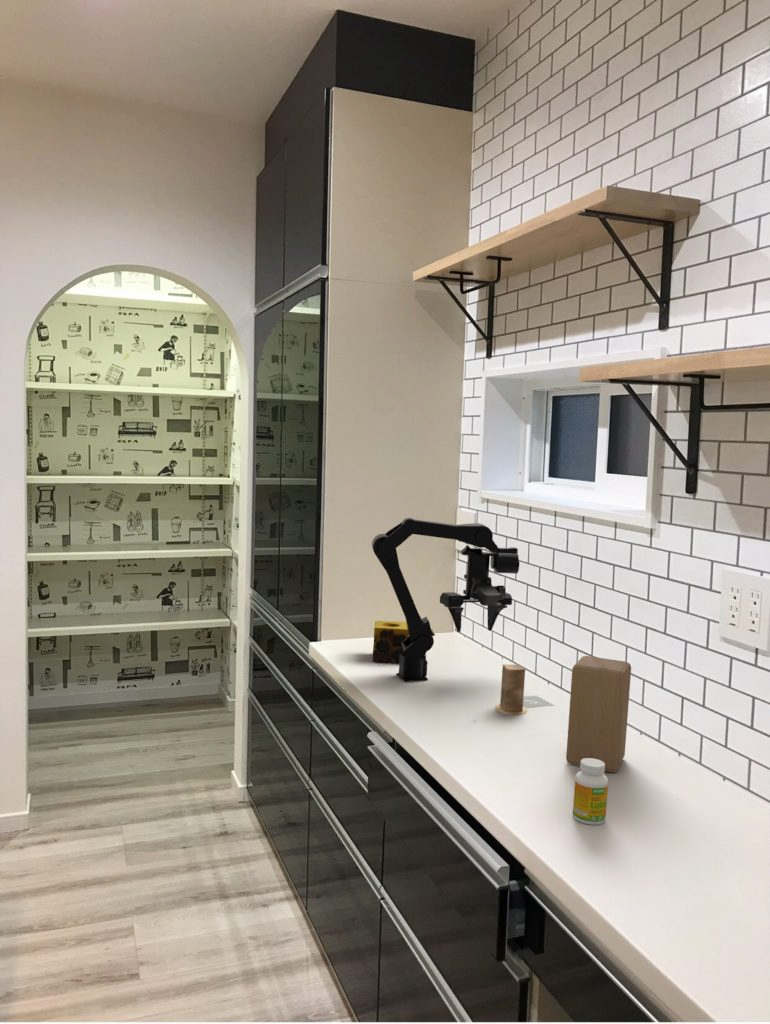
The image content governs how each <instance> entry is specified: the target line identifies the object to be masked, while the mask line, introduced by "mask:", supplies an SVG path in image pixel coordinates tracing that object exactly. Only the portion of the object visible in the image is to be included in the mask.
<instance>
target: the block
mask: <svg viewBox="0 0 770 1024" xmlns="http://www.w3.org/2000/svg"><path fill="white" fill-rule="evenodd" d="M631 673H632V666H631V663H629V662H627V661H625V660H624V661H623V660H617V659H610V658H604V657H597V656H589V655H584V656H581V657H580V659H579V660H578V661H576V663H575V664H574V665H573V667H572V670H571V685H570V696H569V697H570V698H569V712H568V713H569V714H568V723H567V724H568V727H567V738H566V739H567V741H566V753H565V754H566V755H565V758H566V761H567V763H568V764H569V765H572V766H573V765H574V766H577V767H580V763H581V760H582V759H584V758H593V759H598V760H601V761H602V762H604V763H605V772H608V773H612V774H613V773H617V772H618V770H619V768H620V766H621V763H622V762H623V759H624V758H625V755H626V744H627V743H626V741H627V728H628V717H629V715H628V713H629V702H630V691H631V690H630V689H631V675H632V674H631Z"/></svg>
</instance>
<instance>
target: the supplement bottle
mask: <svg viewBox="0 0 770 1024" xmlns="http://www.w3.org/2000/svg"><path fill="white" fill-rule="evenodd" d="M605 772H606V771H605V763H604V762H602V761H601V760H598V759H593V758H584V759H582V760H581V763H580V766H579V771H578V772H577V773H576V774H575V777H574V788H573V790H574V791H573V804H572V817H573V818H574V819H575V821H577V822H579V823H582V824H584V825H590V826H591V825H592V826H599V825H602V824H603V823H604V822H605V821H606V815H607V803H608V789H609V779H608V777H607V776H606V775H605Z"/></svg>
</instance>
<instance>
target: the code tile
mask: <svg viewBox="0 0 770 1024" xmlns="http://www.w3.org/2000/svg"><path fill="white" fill-rule="evenodd" d="M523 707H525V708H526V709H531V708H534V709H535V708H542V707H555V705H554V704H552V703H551V702H549V701H547V700H546V699H543V698H541V697H540V696H539V695H527V696H526V695H524V696H523Z"/></svg>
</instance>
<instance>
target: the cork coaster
mask: <svg viewBox="0 0 770 1024" xmlns="http://www.w3.org/2000/svg"><path fill="white" fill-rule="evenodd" d="M494 709H495V711H497V712H499V713H501V714H506V715H511V716H520V715H525V714H527V713H528V712H529V711H528V708H525V707H523V712H505V711H504V710H503V709H502V708H501V706H500V704H497V705H495V706H494Z"/></svg>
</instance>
